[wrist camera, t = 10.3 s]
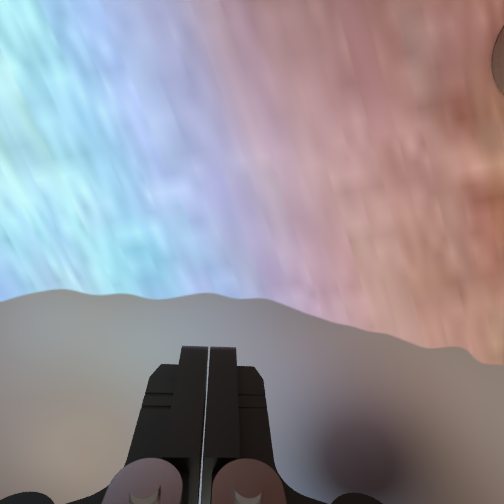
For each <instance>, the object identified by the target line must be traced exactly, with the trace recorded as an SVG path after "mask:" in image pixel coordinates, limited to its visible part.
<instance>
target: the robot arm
mask: <svg viewBox="0 0 504 504" xmlns="http://www.w3.org/2000/svg"><path fill="white" fill-rule="evenodd" d="M492 71H493V76H494V80H495V82H496V84H497V86H498V88H499V89H500V91H501V92H502V93H503V94H504V28H503V29H502V31H501V33H500V35H499V37H498V39H497V42H496V45H495V47H494V52H493V58H492ZM207 361H208V347H203V346H202V347H200V346H182V349H181V355H180V360H179V365H174V364H161V365H160V366H159V367H158V368H157V369H156V371H155V372H154V373H153V374H152V375H151V376H150V378H149V381H148V385H147V389H146V392H145V396H144V399H143V403H142V408H141V410H140V414H139V417H138V421H137V425H136V428H135V432H134V435H133V439H132V443H131V446H130V450H129V453H128V457H127V461H126V463H125V466H124V467H123V468H122V469H121V470H120V471H119V472H118V473H117V474H116V475H115V476H114V478H113V479H112V481H111V483H110V484H109V485H108V486H107V487H106V488H104V489H103V490H101V491H99V492H97V493H95V494H94V495H91V496H89V497H86V498H83V499H80V500H77V501H73V502H70V503H67V504H198V502H199V488H200V473H201V458H202V445H203V430H204V416H205V400H206V380H207ZM0 504H54V503H53V501H52V500H51V499H50V498H49V497H48V496H46V495H44V494H42V493H38V492H22V493H18V494H14V495H11V496H8V497H6V498H4V499H2V500H0ZM201 504H327V503H324V502H321V501H317V500H315V499H312V498H309V497H306V496H303V495H301V494H299V493H297V492H296V491H294V490H293V489H292V488H290V487H289V486H288V485H287V484H286V483H285V482H284V481H283V480H282V478H281V477H280V475H279V474H278V472H277V470H276V467H275V463H274V458H273V450H272V443H271V435H270V428H269V420H268V413H267V405H266V398H265V390H264V382H263V379H262V377H261V376H260V374H259V373H258V371H257V370H256V369H255V367H251V366H237V360H236V348H233V347H211V348H210V361H209V376H208V392H207V407H206V422H205V438H204V453H203V471H202V491H201ZM332 504H382V503H381V502H380V501H378V500H376V499H374V498H373V497H370V496H368V495H365V494H361V493H347V494H343V495H341V496H339V497H338V498H336V499H335V500H334V501H333V502H332Z"/></svg>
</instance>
